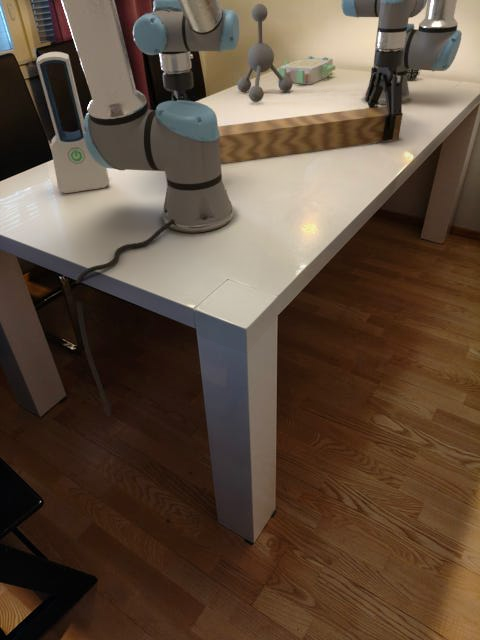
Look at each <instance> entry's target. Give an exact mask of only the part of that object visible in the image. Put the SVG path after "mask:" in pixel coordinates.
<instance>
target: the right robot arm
mask: <svg viewBox="0 0 480 640" xmlns="http://www.w3.org/2000/svg"><path fill="white" fill-rule="evenodd" d="M457 3H458V0H341V9H342V13H343V15H344V16H346V17H352V18H358V19H359V18H378V22H377V31H376V38H375V44H374V45H375V49H374V56H373V57H374V58H373V67H371V69H370V70H371V72H370V78H369V82H368V85H367V89H366V91H365V93H364V94H365V95H364V96H365V97H364V101H365V102H366V103H367V106H368V108H373V107H379V105H382V106H387V112H388V114H387V115H386V119H385V127H384V134H383V140H384V141H385V140H392V139H393V134H394V127H395V121H396V116H399V115H401V114H402V113H403V110H402V109H403V104H404V103H407V102H408V101H409V99H410V88H409V83H408V82H409V81H408V80H407V70H408V69H417V70H419V71H430V72H445V71H448V69H449V68H450V67H451V66H452V64H453V63H454V60H455V58H456V57H457V53H458V51H459V48H460V45H461V41H462V35H463V33H462V31H461V30H460V29H458V21H457V20H456V18H455V14H456V13H455V12H456V7H457ZM425 7H426V9H425ZM424 9H425V15H424V16H425V17H424V19H422V21H421V22H419V23H418V29H415V23H409V21H410V20H409V19H411V18H414V17H416V16H418V15H419V14H420V13H421V12H422V11H423V10H424Z"/></svg>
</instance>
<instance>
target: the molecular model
mask: <svg viewBox="0 0 480 640" xmlns="http://www.w3.org/2000/svg"><path fill="white" fill-rule="evenodd" d="M251 16H252V19H253V20H254V21H255V22H257V43H255V44H253V45H252V46H251V47H250V49H249V50H248V53H247V62H248V65H249V69H248V71H247V73H246V76H242V77H240V78H239V79H238V81H237V89H238V90H239V92H241V93H247V92H248V98H249V99H250V101H252V102H253V103H258V102H261V101H262V100H263V99H264V89H263V88H262V87H261V86H260V81H261V73H265V72H267V71H269V70H271V71H272V72H273V73H274V75H275V76H276V77H277V79H278V78H279V81H278V88H279V90H280V91H282V92H284V93H287V92H289V91H291V89H292V88H293V82H292V79H291V78H290V77H288V76H284V77H282V75H281V74H280V73H279V72H278V69H277V68H276V67H275V65H274V61H275V54H274V51H273V48H272V47H271V46H270V45H268V44H267V43H265V42H263V22H264V21H266V19H267V17H268V8H267V7H266V5H264V4H263V3H257V4H255V5H254V6H253V8H252V10H251ZM253 71H254V72H255V80H254V85H252V81H251V79H250V78H251V75H252V73H253Z"/></svg>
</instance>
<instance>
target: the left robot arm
mask: <svg viewBox="0 0 480 640" xmlns="http://www.w3.org/2000/svg"><path fill="white" fill-rule="evenodd" d="M60 1H61V4H62V7H63V10H64V14H65V17H66V19H67V24H68V26H69V29H70V32H71V36H72V39H73V42H74V46H75V48H76V52H77V55H78V58H79V61H80V65H81V68H82V71H83V74H84V77H85V80H86V83H87V87H88V90H89V93H90V97H91V100H90V101H89V104H87V109H86V110H87V113H86V114H85V116H84V118H83V119H84V123H83V129H84V130H85V133H84V140H85V144H86V147H87V149H88V151H89V153H90V155H91V156H92V158H93V159H94V160H95V161H96V162H97V163H98V164H99V165H101V166H103V167H105V168H106V169H114V170H117V171H126V170H127V171H129V170H130V171H149V172H151V171H152V172H164V174H165V180H166V190H165V191H166V192H165V196H164V203H163V207H162V218H163V222H164V225H162V227H160V228H159V229H157V230H156V231H155V232H154V233H153V234H152V235H151V236H150V237H149V238H147V239H146V240H143V241H140V242H136V243H128V244H124V245H122V246H119V247H118V248H117V249H116V250H115V252H114V255H113V258H112V259H111V260H110V261H109V262H106V263H101V264H98V265H94V266H90V267H88V268H86V269H85V270H83V271H82V272H81V273H80V274H79V275H78V277H77V279H76V281H75V284H80V283H82V281H83V279H84V278H85V277H86V276H87V275H89V274H90V273H92V272H96V271H101V270H105V269H108V268H111V267H112V266H114V265H115V264H116V263H117V262H118V260H119V256H120V254H121V252H123V251H125V250H129V249H135V248H140V247H144V246H146V245H148V244H151V243H152V242H153V241H154V240H155V239H157V238H158V236H159V235H160V234H162V233H163V232H164V231H166V230H167V229H168V228H169V229H171V230H173V231H177V232H180V233H190V234H191V233H192V234H193V233H194V234H195V233H196V234H197V233H205V232H206V233H207V232H210V231H215V230H216V229H220V228H222V227H224V226H226V225H227V224H228V223H230V221H231V220H232V218H233V216H234V212H233V211H234V210H233V205H232V201H231V200H230V197H229V195H228V190H227V189H226V187H225V184H224V182H223V175H222V174H223V173H222V164H221V159H220V144H219V137H220V134H219V130H218V126H219V125H218V117H217V114H216V112H215V111H214V109H212V108H211V107H209V106H208V105H206V104H205V103H201V102H197V101H193V100H190V97H189V96H188V93H186V91H187V90H190V89H192V88H194V85H195V84H194V83H195V82H194V74H193V73H194V72H193V71H192V70H191V69H192V68H193V65H192V59H194V55H193V53H191V52H218V53H220V52H228V51H234V50H235V49H236V48H237V47H238V44H239V40H240V21H239V16H238V14H237V12H236V11H235V10H233V9H227V8H224V9H223V8H222V5H221V3H220V0H152V7H153V8H152V9H153V10H152V12H145V13H144V14H143V15H142V16H140V17H138V19H137V20H136V21H135V22H134V25H133V29H132V37H133V41H134V44H135V45H136V47H137V48H138V49H139V50H140V51H141V52H142V53H144V54H145V55H148V56H155V55H159V62H160V68H161V69H160V70H161V71H162V82H163V88H164V89H165V90H166V91H168V92H171V100H167V101H163V102H160V103H159V104H158V105H157V106H156V109H150V108H149V104H148V100H147V96H146V95H145V94H143V92H141V91H140V90H138V89H137V88H136V83H135V80H134V75H133V71H132V67H131V62H130V58H129V55H128V50H127V47H126V42H125V39H124V38H125V37H124V34H123V30H122V29H123V28H122V26H121V21H120V19H119V18H120V17H119V13H118V9H117V4H116V1H115V0H60ZM76 308H77V316H78V323H79V329H80V334H81V339H82V343H83V347H84V350H85V351H84V352H85V354H86V357H87V361H88V364H89V367H90V369H91V373H92V376H93V378H94V380H95V381H94V382H95V383H96V386H97V389H98V391H99V394H100V398H101V400H102V403H103V407H104V410H105V413H106V416H107V417H110V416H112V414H111V410H110V406H109V403H108V400H107V397H106V393H105V391H104V388H103V385H102V382H101V379H100V376H99V373H98V371H97V368H96V365H95V362H94V359H93V355H92V352H91V348H90V346H89V340H88V336H87V332H86V331H87V330H86V327H85V320H84V313H83V312H84V311H83V303H82V301H78V300H76Z"/></svg>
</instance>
